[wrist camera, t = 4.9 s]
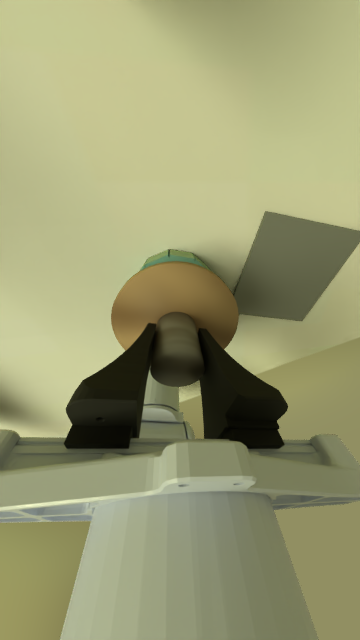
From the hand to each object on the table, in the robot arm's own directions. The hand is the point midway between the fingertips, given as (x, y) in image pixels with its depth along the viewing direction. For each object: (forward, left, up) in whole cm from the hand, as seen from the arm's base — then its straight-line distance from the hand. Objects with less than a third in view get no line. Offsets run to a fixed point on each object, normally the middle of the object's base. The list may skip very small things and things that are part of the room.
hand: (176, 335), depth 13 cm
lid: (0, 0, -2) cm, 2 cm away
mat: (+4, -14, -9) cm, 17 cm away
